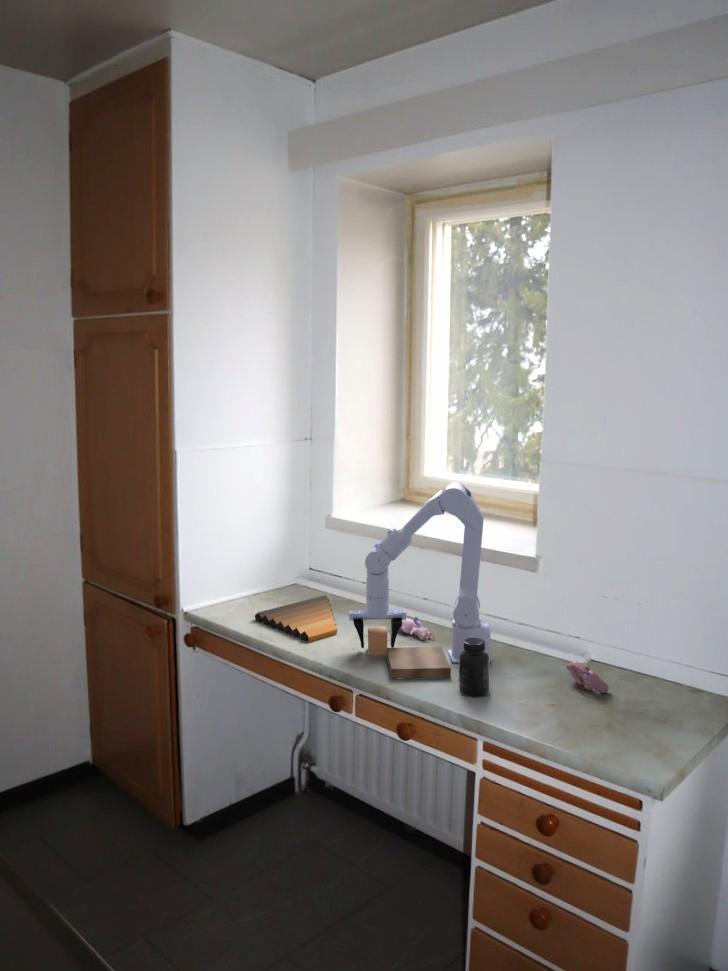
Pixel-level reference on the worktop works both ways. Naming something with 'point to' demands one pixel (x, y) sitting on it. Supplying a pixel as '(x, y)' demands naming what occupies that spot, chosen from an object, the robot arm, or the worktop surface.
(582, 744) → the worktop surface
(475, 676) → the supplement bottle
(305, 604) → the pan flute
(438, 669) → the walnut base board
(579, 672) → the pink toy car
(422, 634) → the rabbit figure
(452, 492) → the robot arm
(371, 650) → the rust block
